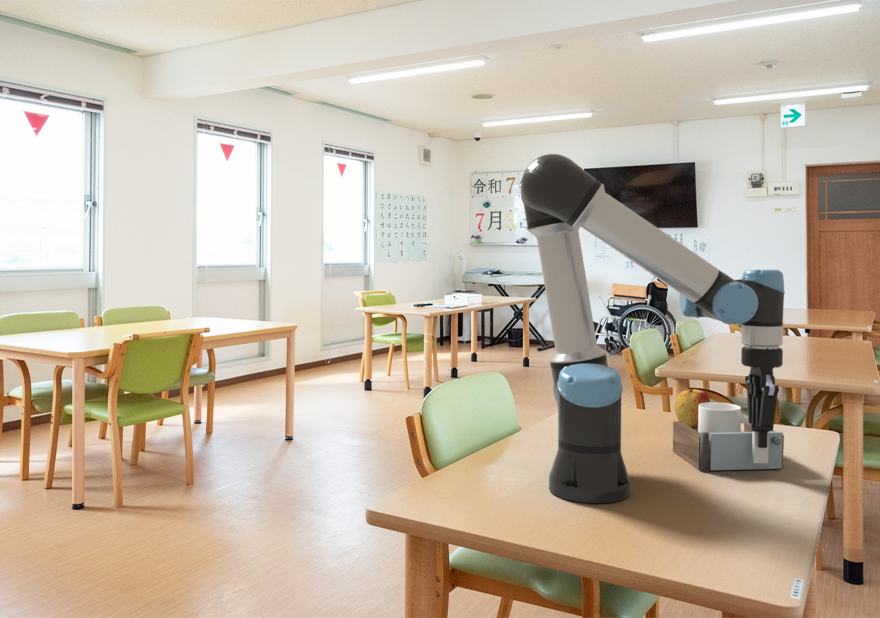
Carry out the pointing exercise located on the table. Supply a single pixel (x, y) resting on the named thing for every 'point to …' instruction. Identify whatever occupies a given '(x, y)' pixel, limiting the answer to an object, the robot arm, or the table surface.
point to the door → (742, 451)
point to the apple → (689, 406)
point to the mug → (720, 418)
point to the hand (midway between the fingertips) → (759, 461)
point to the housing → (696, 445)
